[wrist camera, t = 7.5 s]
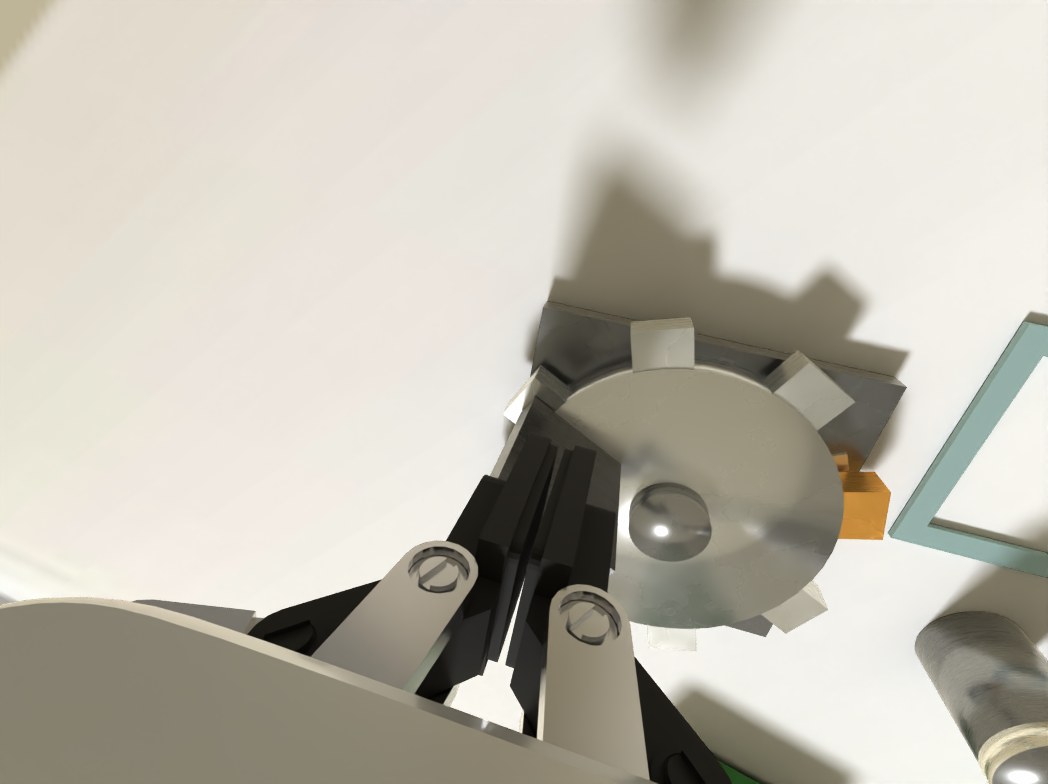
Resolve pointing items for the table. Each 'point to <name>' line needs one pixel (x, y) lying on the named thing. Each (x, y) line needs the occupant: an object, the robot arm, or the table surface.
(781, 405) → the sprocket
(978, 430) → the seat bay
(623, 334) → the sprocket base
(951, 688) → the silver metal cylinder
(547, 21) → the table surface
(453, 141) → the table surface
